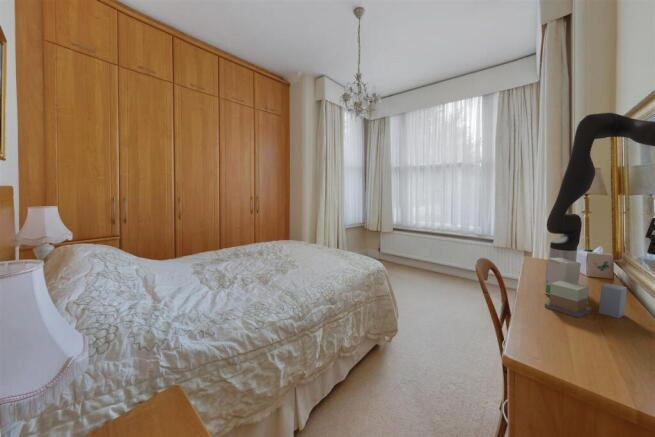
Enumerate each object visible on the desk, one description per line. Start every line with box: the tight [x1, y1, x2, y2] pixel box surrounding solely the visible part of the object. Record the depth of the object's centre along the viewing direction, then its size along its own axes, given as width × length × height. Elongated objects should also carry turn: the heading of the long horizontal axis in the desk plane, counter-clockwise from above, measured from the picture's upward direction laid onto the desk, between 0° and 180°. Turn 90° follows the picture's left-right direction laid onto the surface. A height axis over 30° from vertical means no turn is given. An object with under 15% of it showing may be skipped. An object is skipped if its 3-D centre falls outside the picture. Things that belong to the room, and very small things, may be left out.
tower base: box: [544, 280, 593, 319], centre depth 99 cm, size 10×10×9 cm
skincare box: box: [544, 257, 582, 296], centre depth 109 cm, size 8×7×16 cm
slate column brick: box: [598, 283, 628, 319], centre depth 94 cm, size 5×5×10 cm
